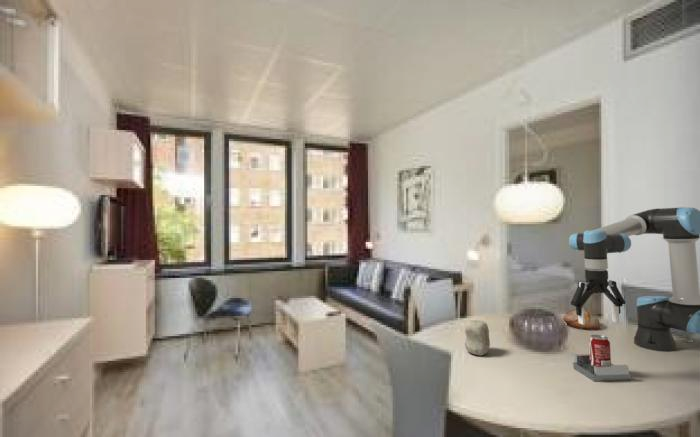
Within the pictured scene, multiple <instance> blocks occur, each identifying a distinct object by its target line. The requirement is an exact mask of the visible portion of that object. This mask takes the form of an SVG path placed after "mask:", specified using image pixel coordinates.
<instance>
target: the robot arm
mask: <svg viewBox="0 0 700 437" xmlns="http://www.w3.org/2000/svg"><path fill="white" fill-rule="evenodd" d="M647 234H648V235H651V234H654V235H656V234H657V235H662V238H663V239H662V240H664V241H666V242H667V243H668V256H669V267H670V276H671V279H670V280H671V289H672V296H671V297H668V296H662V295H648V296H647V295H646V296H645V295H644V296H639V297H638V298H637V299H636V311H637V312H636V314H637V316H636V317H637V329H636V331H635V334H634V337H633V343H634V344H635V345H636V346H638V347H640V348H644V349H648V350H652V351H653V350H654V351H660V352H661V351H662V352H671V351H672V352H673V351H675V350H677V343H676V342H675V340H674V337H673V334H672V332H671V329H674V330H679V331H683V332H687V333H689V334H697V335H700V282H699V272H698V270H699V269H698V260H697V259H698V258H697V248H696V246H697V245H696V242H697V241H698V240H700V210H699V209H697V208H696V207H687V206H686V207H685V206H682V207H670V208H669V207H665V208H652V209H647V210H644V211H641V212H638V213H634V214H631V215H628V216H627V217H626V218H625V219H623V220H621V221H617V222H613V223H610V224H608V225H605V226H601V227H599V228H597V229H593V230H592V229H591V230H585V231H583V232H577V233H572V234H571V235H570V236H569V239H568V245H569V246H570V248H571V249H572V250H575V251H583V255H584V256H583V258H584V268H585V270H584V277H585V282H582V281H578V282H577V288H576V290H575V292H574V295H573V297H572V299H571V302H570V305H571V306H574V307H575V310H576V314H577V315H578V321H579V323H580V324H583V325H585V315H584V311H585V307H584V305H585V304H586V302H587V301H588V300H589V298H590V297H592V295H594V294H604V295H605V296H606V297H607V299H608V300H610V302H611V303H612V304H611V318H612V319H611V320H612V322H614V323H616V324H620V314H621V307H623V306H624V305H626V300H625V298H624V297H623V295H622V293H621V291H620V290H619V288H618V286H617V281H616V280H611V279H610V280H609V271H608V268H609V266H608V265H609V264H608V254H612V253H613V254H615V253H620V254H621V253H625V252H627V251H629V250H630V249H631V247H632V240H631V238H630V237H631V236H641V235H647ZM608 287H609V288H610V290H609V288H608Z"/></svg>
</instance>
